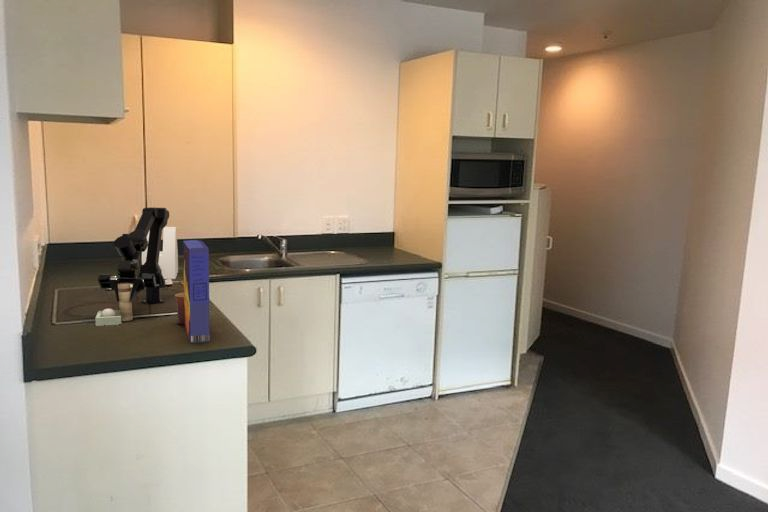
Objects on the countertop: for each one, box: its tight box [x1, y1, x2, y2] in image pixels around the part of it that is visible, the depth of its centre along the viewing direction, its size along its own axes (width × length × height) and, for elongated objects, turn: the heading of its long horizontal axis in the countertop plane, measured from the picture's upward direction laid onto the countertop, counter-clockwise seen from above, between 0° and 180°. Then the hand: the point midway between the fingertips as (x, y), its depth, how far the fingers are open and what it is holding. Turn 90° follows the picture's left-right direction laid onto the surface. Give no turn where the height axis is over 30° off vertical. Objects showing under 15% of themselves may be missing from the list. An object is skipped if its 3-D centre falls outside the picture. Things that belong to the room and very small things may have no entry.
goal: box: [95, 309, 122, 327], centre depth 214 cm, size 11×8×3 cm
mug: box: [174, 292, 185, 326], centre depth 215 cm, size 12×9×10 cm
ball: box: [101, 308, 116, 317], centre depth 214 cm, size 5×5×5 cm
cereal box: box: [182, 239, 211, 344], centre depth 199 cm, size 22×6×30 cm, turn 22°
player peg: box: [118, 283, 134, 322], centre depth 215 cm, size 4×4×13 cm
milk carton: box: [141, 226, 179, 280], centre depth 308 cm, size 19×15×25 cm
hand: (124, 300), depth 214 cm, fingers closed on player peg, 4 cm apart
